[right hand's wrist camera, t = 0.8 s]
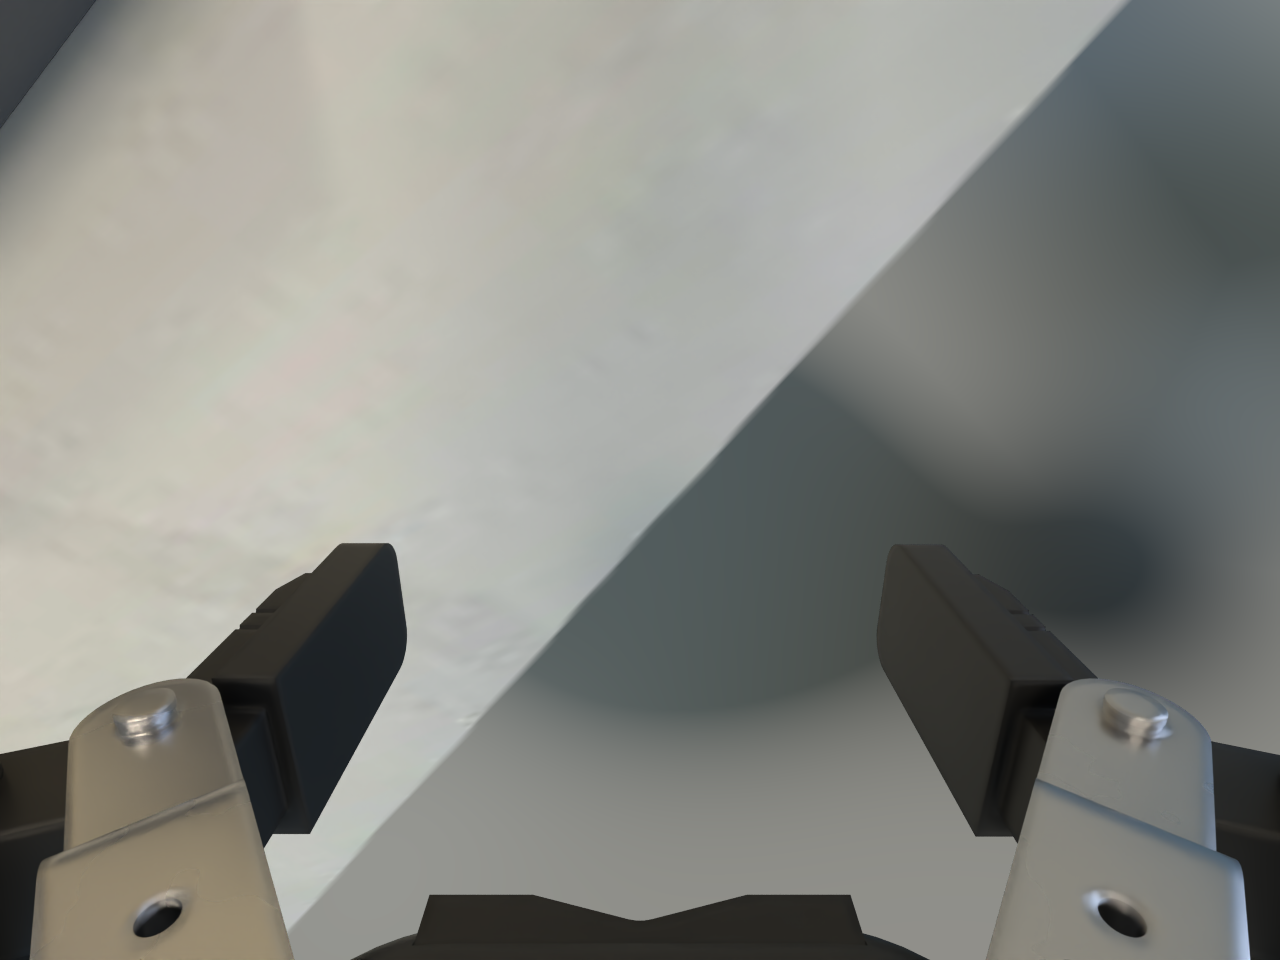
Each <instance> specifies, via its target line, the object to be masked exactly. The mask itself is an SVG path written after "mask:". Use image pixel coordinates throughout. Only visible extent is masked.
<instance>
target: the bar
mask: <svg viewBox="0 0 1280 960" xmlns="http://www.w3.org/2000/svg"><path fill="white" fill-rule="evenodd" d="M94 2H95V0H0V128H1V126H2V125H3V124H4V122H5V121H6V120H7V118H8V117H9V116H10V114H11V113H12V112H13V110H14V109H15V108H16V106H17V105H18V104H19V102H20V101H21V100H22V98H23V97H24V95H25V94H26V93H27V91H28V90H29V89H30V87H31V86H32V85H33V83H34V82H35V81H36V79H37V78H38V77H39V75H40V74H41V73H42V71H43V70H44V69H45V67H46V66H47V65H48V63H49V62H50V61H51V59H52V58H53V57H54V55H55V54H56V53H57V51H58V50H59V49H60V47H61V46H62V45H63V43H64V42H65V41H66V39H67V38H68V36H69V35H70V34H71V32H72V31H73V30H74V28H75V27H76V26H77V24H78V23H79V22H80V20H81V19H82V18H83V16H84V15H85V14H86V12H87V11H88V10H89V8H90V7H91V6H92V4H93V3H94Z"/></svg>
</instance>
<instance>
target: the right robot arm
mask: <svg viewBox="0 0 1280 960" xmlns="http://www.w3.org/2000/svg"><path fill="white" fill-rule="evenodd" d="M406 643H407V628H406V620H405V613H404V606H403V598H402V591H401V584H400V577H399V570H398V563H397V557H396V553H395V550H394V548H393V546H392V545H391V544H389V543H342V544H339V545H338V546H337V547H336V548H335V549H334V550H333V551H332V552H331V553H330V554H329V555H328V556H327V558H326V559H325V560H324V561H323V562H322V563H321V564H320V565H319V566H318V567H317V568H316V569H315V570H314V571H313V572H312V573H305V574H303V575H301V576H299V577H298V578H296V579H294V580H292V581H290V582H289V583H287V584H285V585H283V586H281V587H280V588H278V589H276V590H275V591H274V592H273V593H272V594H271V595H270V596H269V597H268V598H267V599H266V600H265V601H264V602H263V603H262V604H261V605H260V606H259V607H258V608H257V609H256V613H252V614H251V615H250V616H249V617H248V618H246V619H245V620H244V621H243V622H242V623H241V624H240V629H235V630H234V631H233V632H232V633H231V634H230V635H229V636H228V637H227V638H226V639H225V640H224V641H223V642H222V643H221V644H220V645H219V646H218V647H217V648H216V649H215V650H214V651H213V652H212V653H211V654H210V655H209V656H208V657H207V658H206V659H205V660H204V661H203V662H202V663H201V664H200V665H199V666H198V667H197V668H196V669H195V670H194V671H193V672H192V673H191V674H190V675H189V676H188V677H187V678H186V679H173V680H166V681H161V682H156V683H153V684H149V685H146V686H143V687H140V688H137V689H134V690H131V691H129V692H127V693H124V694H122V695H120V696H118V697H116V698H114V699H112V700H110V701H108V702H107V703H105V704H103V705H102V706H100V707H99V708H97V709H96V710H94V711H93V712H92V713H90V714H89V715H88V716H87V717H86V718H85V719H83V720H82V721H81V722H80V723H79V725H78V726H77V727H76V728H75V729H74V731H73V733H72V735H71V736H70V739H69V740H68V741H63V742H58V743H53V744H48V745H43V746H38V747H33V748H28V749H24V750H19V751H14V752H9V753H4V754H0V960H294V956H293V953H292V949H291V946H290V942H289V938H288V935H287V931H286V928H285V924H284V920H283V917H282V913H281V910H280V906H279V902H278V899H277V895H276V891H275V888H274V884H273V881H272V877H271V873H270V870H269V866H268V863H267V859H266V855H265V852H264V847H265V846H266V844H267V842H268V841H269V839H270V838H271V836H272V834H310V833H311V831H312V829H313V827H314V825H315V824H316V822H317V820H318V818H319V816H320V814H321V813H322V811H323V809H324V807H325V805H326V803H327V802H328V800H329V798H330V796H331V794H332V792H333V791H334V789H335V787H336V785H337V783H338V781H339V780H340V778H341V776H342V774H343V772H344V770H345V769H346V767H347V765H348V763H349V761H350V759H351V758H352V756H353V754H354V752H355V750H356V748H357V747H358V745H359V743H360V741H361V739H362V737H363V736H364V734H365V732H366V730H367V728H368V726H369V725H370V723H371V721H372V719H373V717H374V715H375V714H376V712H377V710H378V708H379V706H380V704H381V703H382V701H383V699H384V697H385V695H386V693H387V692H388V690H389V688H390V686H391V684H392V682H393V681H394V679H395V677H396V675H397V673H398V671H399V670H400V668H401V666H402V663H403V660H404V656H405V651H406ZM877 648H878V654H879V659H880V662H881V665H882V667H883V670H884V672H885V673H886V675H887V677H888V679H889V681H890V682H891V684H892V686H893V688H894V690H895V691H896V693H897V695H898V697H899V699H900V700H901V702H902V704H903V706H904V708H905V710H906V711H907V713H908V715H909V717H910V719H911V720H912V722H913V724H914V726H915V728H916V729H917V731H918V733H919V735H920V737H921V739H922V740H923V742H924V744H925V746H926V748H927V749H928V751H929V753H930V755H931V757H932V758H933V760H934V762H935V764H936V766H937V767H938V769H939V771H940V773H941V775H942V777H943V778H944V780H945V782H946V784H947V786H948V787H949V789H950V791H951V793H952V795H953V796H954V798H955V800H956V802H957V804H958V805H959V807H960V809H961V811H962V813H963V815H964V816H965V818H966V820H967V822H968V824H969V825H970V827H971V829H972V831H973V833H974V834H975V836H1013V837H1014V838H1015V840H1016V842H1017V843H1018V845H1017V848H1016V852H1015V855H1014V859H1013V863H1012V866H1011V870H1010V874H1009V877H1008V881H1007V884H1006V888H1005V891H1004V895H1003V899H1002V902H1001V906H1000V910H999V913H998V917H997V920H996V924H995V928H994V931H993V935H992V938H991V942H990V946H989V949H988V953H987V956H986V960H1280V755H1276V754H1271V753H1266V752H1261V751H1256V750H1251V749H1246V748H1241V747H1236V746H1231V745H1226V744H1222V743H1217V742H1212V741H1211V739H1210V737H1209V735H1208V733H1207V731H1206V729H1205V728H1204V727H1203V726H1202V725H1201V723H1200V722H1199V721H1198V720H1196V719H1195V718H1194V717H1193V716H1192V715H1191V714H1190V713H1188V712H1187V711H1186V710H1184V709H1183V708H1181V707H1180V706H1178V705H1176V704H1175V703H1173V702H1172V701H1170V700H1168V699H1166V698H1164V697H1162V696H1160V695H1158V694H1156V693H1153V692H1151V691H1149V690H1146V689H1143V688H1140V687H1137V686H1134V685H1131V684H1127V683H1123V682H1119V681H1114V680H1107V679H1098V678H1097V677H1096V676H1095V675H1094V674H1093V673H1092V672H1091V671H1090V670H1089V669H1088V668H1087V667H1086V666H1085V665H1084V664H1083V663H1082V662H1081V661H1080V660H1079V659H1078V658H1077V657H1076V656H1075V655H1074V654H1073V653H1072V652H1071V651H1070V650H1069V649H1068V648H1067V647H1066V646H1065V645H1064V644H1062V642H1060V641H1059V640H1058V639H1057V638H1056V637H1055V636H1054V635H1053V634H1052V633H1051V632H1050V631H1046V630H1045V626H1044V625H1043V624H1042V623H1041V622H1040V621H1039V620H1038V619H1037V618H1036V617H1035V616H1034V615H1033V614H1029V610H1028V609H1027V608H1026V607H1025V606H1024V605H1023V604H1022V603H1021V602H1020V601H1019V600H1018V599H1017V598H1016V597H1015V596H1014V595H1013V594H1012V593H1011V592H1010V591H1008V590H1006V589H1005V588H1003V587H1001V586H999V585H997V584H995V583H994V582H992V581H990V580H988V579H986V578H985V577H983V576H981V575H979V574H972V573H971V572H970V571H969V570H968V569H967V568H966V567H965V566H964V565H963V564H962V562H961V561H960V560H959V559H958V558H957V557H956V556H955V555H954V554H953V553H952V552H951V551H950V550H949V549H948V548H947V547H946V546H945V545H942V544H895V545H893V546H892V547H891V549H890V551H889V553H888V557H887V562H886V569H885V576H884V583H883V590H882V597H881V604H880V611H879V618H878V625H877ZM351 960H929V959H927V958H925V957H923V956H921V955H918V954H916V953H914V952H912V951H910V950H908V949H906V948H904V947H902V946H899V945H896V944H894V943H891V942H888V941H886V940H883V939H880V938H877V937H874V936H870V935H867V934H863V933H862V930H861V927H860V924H859V921H858V918H857V914H856V911H855V908H854V905H853V902H852V899H851V895H745V896H741V897H737V898H733V899H729V900H725V901H722V902H717V903H714V904H710V905H706V906H702V907H698V908H694V909H690V910H686V911H683V912H679V913H675V914H671V915H667V916H663V917H659V918H655V919H651V920H645V921H635V920H629V919H625V918H621V917H617V916H613V915H609V914H605V913H601V912H598V911H594V910H590V909H586V908H582V907H578V906H574V905H570V904H567V903H563V902H559V901H555V900H551V899H547V898H543V897H539V896H535V895H429V899H428V902H427V905H426V908H425V911H424V914H423V918H422V921H421V924H420V927H419V930H418V933H417V934H413V935H410V936H406V937H403V938H400V939H397V940H394V941H392V942H389V943H386V944H384V945H381V946H379V947H376V948H374V949H372V950H370V951H368V952H366V953H364V954H362V955H360V956H358V957H355V958H353V959H351Z"/></svg>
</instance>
